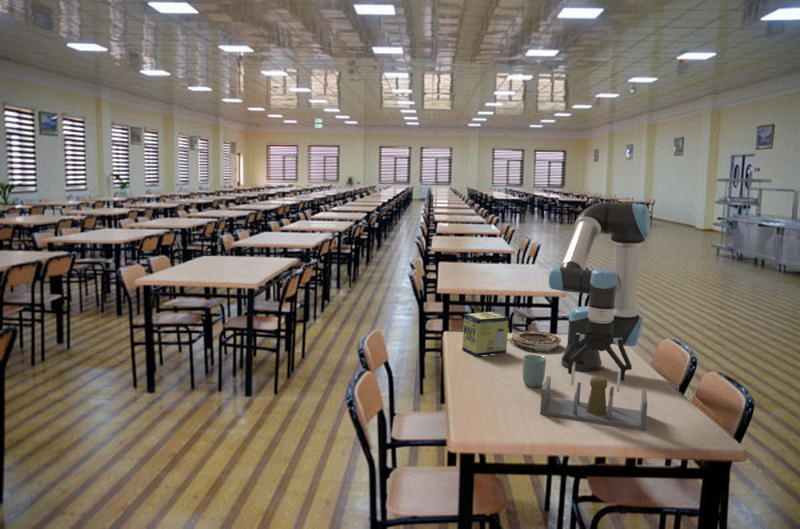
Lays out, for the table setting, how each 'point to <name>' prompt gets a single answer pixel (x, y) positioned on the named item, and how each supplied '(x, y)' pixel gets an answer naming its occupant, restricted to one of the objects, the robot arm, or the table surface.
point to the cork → (597, 396)
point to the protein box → (485, 333)
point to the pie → (535, 340)
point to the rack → (579, 412)
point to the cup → (533, 370)
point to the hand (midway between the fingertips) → (594, 387)
